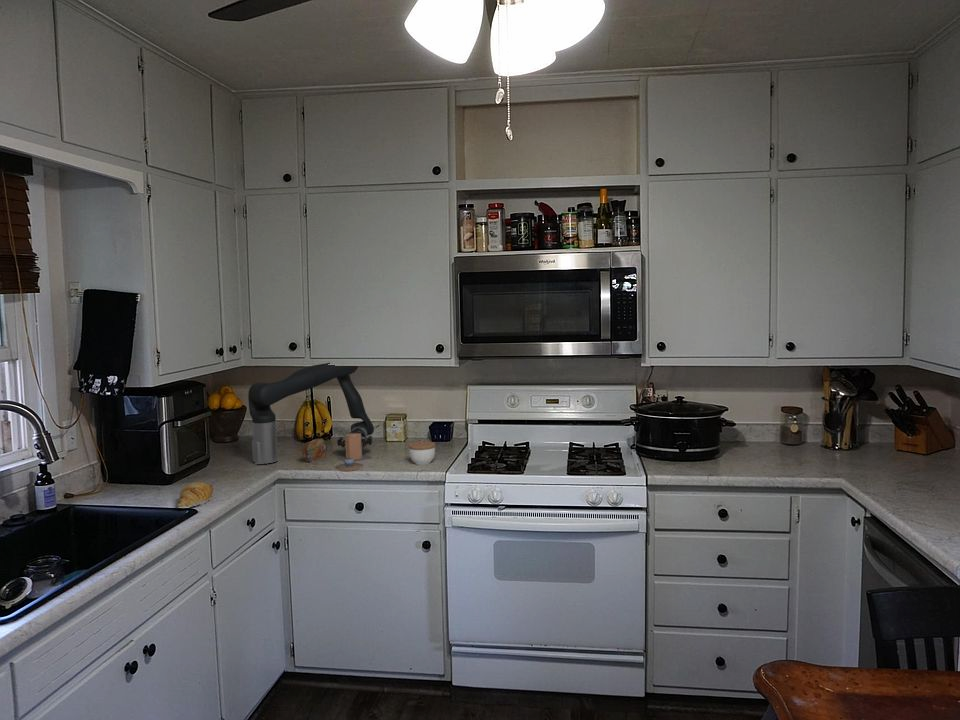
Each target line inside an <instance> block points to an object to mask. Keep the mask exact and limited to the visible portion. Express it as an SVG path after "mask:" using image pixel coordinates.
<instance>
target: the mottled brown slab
mask: <svg viewBox="0 0 960 720" xmlns="http://www.w3.org/2000/svg"><path fill="white" fill-rule="evenodd" d="M327 445H328V444H327V442H326V440H325V439H324V438H315V439H312V440H311V441H308V442H305V443H304V445H303V446H302V458H303V461H304V462H306V463H312V462H314V460H315V461H317V460H319V459H322V458H323V457H326V454H327V450H328V447H327ZM321 457H322V458H321Z"/></svg>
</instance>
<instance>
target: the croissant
mask: <svg viewBox="0 0 960 720" xmlns="http://www.w3.org/2000/svg"><path fill="white" fill-rule="evenodd" d="M213 492H214V487H213V485H212V484H208V483H206V482H204V481H196V482H192V483H189V484H187V485H185V486H184V487H183V488H182V489H181V491H180V492H179V497H178V498H179V499H178V501H177V502H178V503H177V504H176V505H177V508H178V507H183V506H189V505H193V504H197V503H200V502H203V501H207V500H208V499H209V498H210V497H211V498H212V495H213ZM211 498H210V499H211Z"/></svg>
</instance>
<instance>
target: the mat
mask: <svg viewBox="0 0 960 720" xmlns="http://www.w3.org/2000/svg"><path fill="white" fill-rule="evenodd" d="M335 459H337V460H338V461H342V462H344V463H345V459H346V455H343V456H341V455H340V456H337V457H335ZM371 459H374V457H373V456H370V455H366V454H364V453H362V458H361V459H357V460H354V463H357V462H361V461H364V460H366V461H367V460H371Z"/></svg>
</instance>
